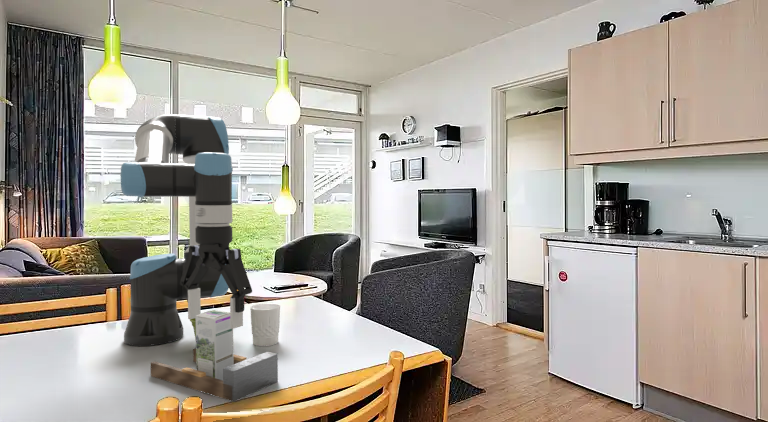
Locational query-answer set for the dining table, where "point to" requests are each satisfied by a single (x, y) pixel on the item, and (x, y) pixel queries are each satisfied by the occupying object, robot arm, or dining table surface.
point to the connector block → (251, 375)
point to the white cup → (265, 324)
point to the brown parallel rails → (193, 377)
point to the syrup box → (214, 343)
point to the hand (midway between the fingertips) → (214, 322)
